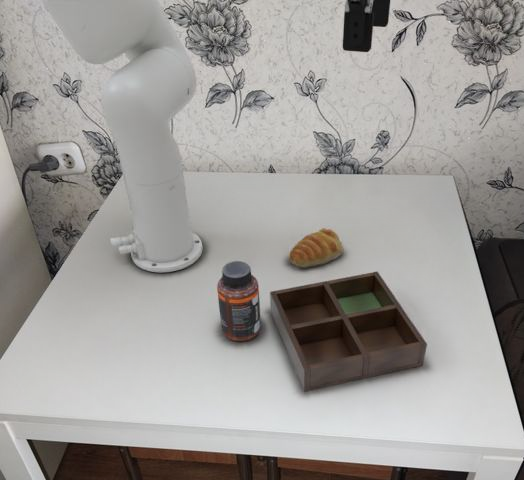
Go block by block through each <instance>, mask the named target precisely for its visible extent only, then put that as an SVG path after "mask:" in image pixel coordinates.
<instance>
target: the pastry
mask: <svg viewBox="0 0 524 480" xmlns="http://www.w3.org/2000/svg"><path fill="white" fill-rule="evenodd" d="M342 244H343V243H342V241H341V240H340V237H339V235H338V234H337V232H336V231H334V230H332V229H330V228H322V229H319V230H318V231H316V232H311V233H310V234H307V235H305V236H304V237H303V238H302V239H301V240H299V241H298V242H297V244H295V245H294V247H293V248H292V249H291V250H290V251H289V263H291V264H292V265H294V266H297V267H300V268H305V269H306V268H311V267H316V266H322V265H323V264H327V263H329V262H331V261H332V260H336V259H338V258H339V257H340V256H341V255H342V253H344V246H343V245H342Z"/></svg>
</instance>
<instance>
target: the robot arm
mask: <svg viewBox="0 0 524 480" xmlns="http://www.w3.org/2000/svg"><path fill="white" fill-rule="evenodd" d="M41 2H42V3H43V5H44V6H45V8H46V9H47V11H48V13H49V14H50V16H51V17H52V19H53V21H54V22H55V24H56V25H57V27H58V28H59V29H60V32H62V33H61V34H63V36H64V37H65V39H66V40H67V41H68V43H69V45H70V46H71V48H72V49H73V51H74V52H75V54H76V55H78V56H79V57H80V58H81V59H82V60H83V61H85V62H86V63H88V64H93V65H104V64H106V63H110V62H111V61H113V60H115V59H117V58H118V57H120V56H122V55H124V54H125V55H126V57H127V58H128V60H129V62H127V63H125V65H122V67H120V68H118V69H117V70H116V71H115V72H114V73H113V74H111V76H110V77H109V78H108V80H107V81H106V82H105V84H104V87H103V89H102V93H101V99H100V103H101V105H100V106H101V111H102V115H103V117H104V120H105V122H106V125H107V127H108V129H109V131H110V135H111V136H112V139H113V142H114V145H115V147H116V151H117V155H118V159H119V163H120V168H121V173H122V176H123V181H124V185H125V189H126V195H127V200H128V204H129V209H130V212H131V214H130V215H131V218H132V222H133V227H132V230H133V231H132V232H131V233H127V235H125V236H116V237H111V238H109V240H110V245H111V249H112V250H118V251H119V255H126V254H128V253H129V254H130V255H131V260H132V262H133V263H134V264H135V265H136V267H138V268H140V269H142V270H144V271H148V272H153V273H172V272H177V271H180V270H183V269H186V268H188V267H189V266H191V265H193V264H194V263H195V262H197V261H198V260H199V258H200V257H201V256H202V254H203V249H204V248H203V242H202V239H201V238H200V236H199V235H198V234H196V233H195V232H193V231H192V225H191V219H190V211H189V205H188V204H189V203H188V197H187V189H186V182H185V181H186V180H185V176H184V175H185V174H184V167H183V162H182V154H181V151H180V147H179V145H178V142H177V141H176V139H175V136H174V135H173V133H172V131H171V126H170V122H171V120H172V119H173V118H175V116H176V115H177V114H178V113H180V112H181V111H182V110H183V109H184V108H185V107H186V106H187V105H188V104H189V103H190V102H191V101H192V99H193V97H194V96H195V93H196V89H197V75H196V70H195V67H194V64H193V62H192V60H191V58H190V55H189V54H188V52H187V50H186V48H185V47H184V45H183V42H182V41H181V40H180V38H179V35H178V34H177V32H176V30H175V28H174V27H173V25H172V23H171V21H170V19H169V17H168V16H167V14H166V12H165V10H164V9H163V7H162V5H161V3H160V1H159V0H41ZM390 8H391V0H345V3H344V14H343V30H342V31H343V32H342V49H343V51H345V52H358V53H368V52H370V51H371V50H372V43H373V32H374V31H373V30H374V27H377V28H378V27H379V28H386V27H387V26H388V25H389V20H390V19H389V18H390Z"/></svg>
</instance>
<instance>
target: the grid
mask: <svg viewBox="0 0 524 480" xmlns="http://www.w3.org/2000/svg"><path fill="white" fill-rule="evenodd" d="M269 303H270V305H269V306H270V314H271V317H272V319H273V321H274V323H275V326H276V329H277V331H278V333H279V335H280V338H281V340H282V342H283V345H284V347H285V349H286V352H287V354H288V356H289V359H290V361H291V364H292V366H293V369H294V371H295V374H296V376H297V378H298V380H299V384H300V385H301V388H302V390H303V392H307V391H308V392H309V391H312V390H316V389H321V388H327V387H330V386H335V385H340V384H344V383H349V382H353V381H357V380H363V379H367V378H371V377H376V376H380V375H386V374H389V373H394V372H398V371H399V372H400V371H403V370H408V369H412V368H418V367H421V366H424V361H425V357H426V351H427V348H428V343H427V342H426V340H425V339H424V337H423V336H422V334H421V333H420V332H419V330H418V329H417V327H416V326H415V324H414V323H413V321H412V320H411V318H410V316H409V315H408V314H407V313H406V311H405V310H404V308H403V306H402V305H401V304H400V303H399V301H398V299H397V298H396V296H395V295H394V293H393V292H392V291H391V289H390V288H389V286H388V285H387V283H386V282H385V280H384V279H383V277H382V276H381V275H380V273H379V271H373V272H368V273H361V274H357V275H350V276H345V277H341V278H335V279H329V280H324V281H318V282H314V283H309V284H303V285H299V286H298V285H297V286H293V287H288V288H282V289H278V290H273V291H270V292H269Z"/></svg>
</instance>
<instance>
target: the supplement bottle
mask: <svg viewBox="0 0 524 480" xmlns="http://www.w3.org/2000/svg"><path fill="white" fill-rule="evenodd" d="M221 274H222V275H221V278H219V280H218V282H217V284H216V290H217V291H216V292H217V299H218V300H217V301H218V309H219V316H220V325H221V331H222V334H223V335H224V337H226V338H227V339H229V340H231V341H234V342H245V341H249V340H252V339H254V338H255V337H257V336H258V334H259V333H260V331H261V324H262V321H261V308H260V307H261V306H260V305H261V303H260V288H259V281H258V279H257V277H255V276H254V275H253V274H252V269H251V266H250V264H248V263H247V262H245V261H241V260H235V261H230V262H228V263H225V265H224V266H223V267H222V270H221Z"/></svg>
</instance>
